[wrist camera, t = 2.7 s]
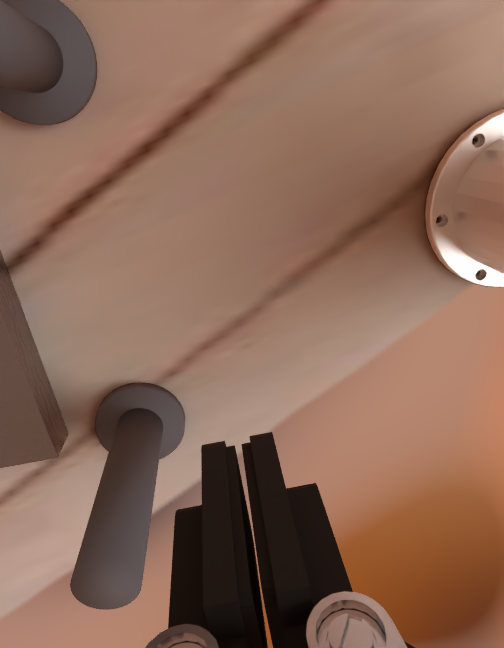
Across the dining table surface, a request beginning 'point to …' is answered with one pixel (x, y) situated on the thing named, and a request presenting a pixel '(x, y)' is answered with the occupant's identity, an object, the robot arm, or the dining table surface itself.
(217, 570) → the robot arm
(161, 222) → the dining table surface
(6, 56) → the knob
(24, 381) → the breaker panel
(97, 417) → the post
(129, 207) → the dining table surface
